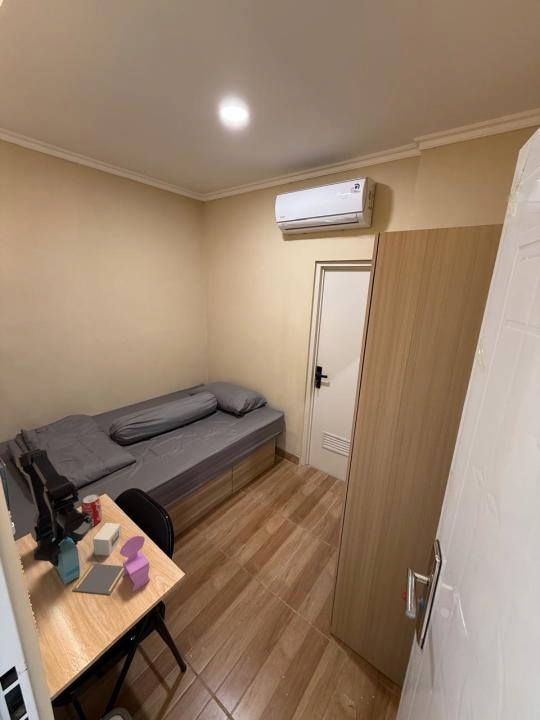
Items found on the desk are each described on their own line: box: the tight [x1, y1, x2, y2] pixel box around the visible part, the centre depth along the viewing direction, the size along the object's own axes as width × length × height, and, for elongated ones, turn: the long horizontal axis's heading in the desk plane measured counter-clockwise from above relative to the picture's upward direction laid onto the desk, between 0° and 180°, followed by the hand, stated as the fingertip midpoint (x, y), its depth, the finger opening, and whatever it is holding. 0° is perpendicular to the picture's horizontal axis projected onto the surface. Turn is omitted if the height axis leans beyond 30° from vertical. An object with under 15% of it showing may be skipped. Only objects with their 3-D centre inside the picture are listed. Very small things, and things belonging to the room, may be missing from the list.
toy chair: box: [119, 535, 151, 593], centre depth 99 cm, size 8×9×15 cm
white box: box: [92, 522, 122, 557], centre depth 112 cm, size 6×8×7 cm
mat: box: [71, 562, 125, 596], centre depth 99 cm, size 13×10×1 cm
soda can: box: [80, 493, 103, 528], centre depth 123 cm, size 7×7×12 cm
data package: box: [52, 537, 81, 585], centre depth 101 cm, size 12×4×12 cm, turn 51°
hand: (66, 554), depth 101 cm, fingers open, 8 cm apart
